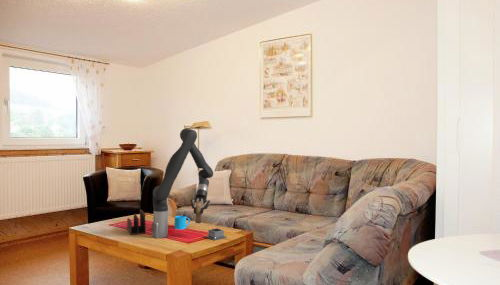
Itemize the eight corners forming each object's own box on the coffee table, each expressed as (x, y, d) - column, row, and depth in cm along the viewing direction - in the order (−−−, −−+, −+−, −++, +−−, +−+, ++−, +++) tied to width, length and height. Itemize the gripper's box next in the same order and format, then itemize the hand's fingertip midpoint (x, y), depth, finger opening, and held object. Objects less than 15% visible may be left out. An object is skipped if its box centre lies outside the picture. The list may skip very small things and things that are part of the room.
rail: (197, 223, 244) (198, 202, 243) (194, 222, 246) (195, 201, 246) (202, 223, 246) (202, 201, 246) (199, 221, 249) (199, 200, 248)
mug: (177, 230, 266) (177, 218, 266) (172, 227, 272) (172, 216, 272) (192, 227, 273) (192, 216, 273) (187, 225, 280) (187, 214, 280)
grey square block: (214, 240, 240) (214, 232, 240) (205, 237, 247) (205, 229, 247) (226, 237, 246) (226, 230, 246) (217, 234, 254) (217, 227, 254)
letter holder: (141, 227, 273) (141, 208, 272) (145, 234, 255) (146, 213, 254) (126, 228, 268) (126, 209, 268) (130, 235, 250) (130, 214, 250)
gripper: (191, 188, 254) (186, 209, 242) (211, 189, 253) (208, 210, 241) (192, 195, 259) (188, 216, 247) (212, 195, 258) (209, 217, 246)
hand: (198, 213), depth 244 cm, fingers closed on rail, 3 cm apart
